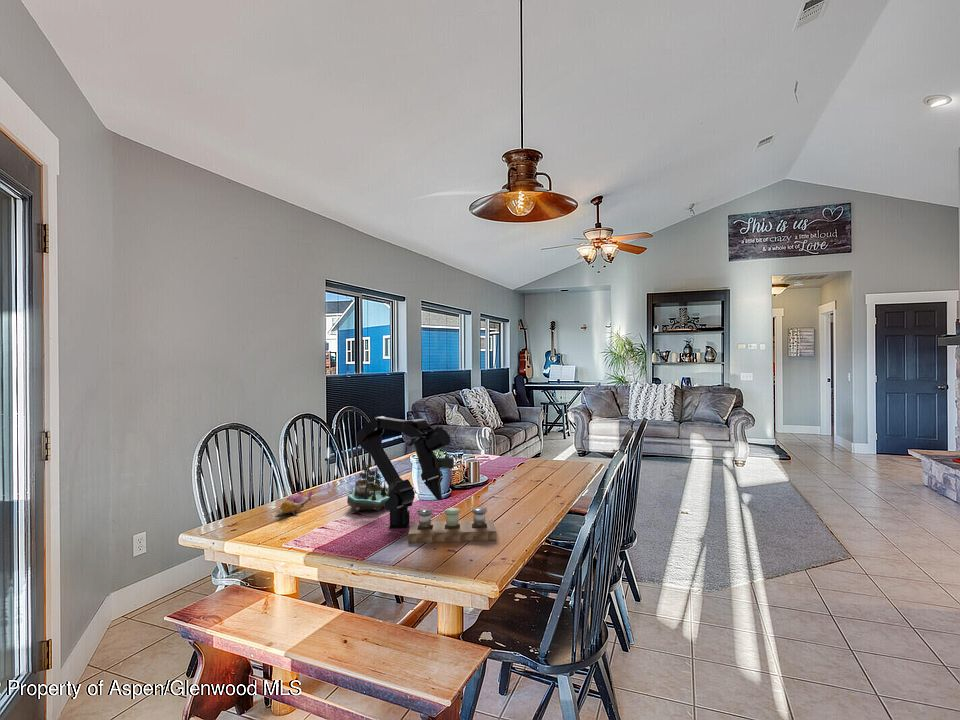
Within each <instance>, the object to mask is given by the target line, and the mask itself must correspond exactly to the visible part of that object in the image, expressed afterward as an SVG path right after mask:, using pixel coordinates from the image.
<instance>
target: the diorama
mask: <svg viewBox="0 0 960 720" xmlns="http://www.w3.org/2000/svg"><path fill="white" fill-rule="evenodd" d="M370 465H371V463H369V464H364V467H361V471H362V472H360V473H358V476H359V478H358V480H356V481H355V485H354V486H355V488H354V489H353V488H351V491H349V493H348V495H347V499H346V500H347V505H348V506H349V507H351V508H352V509H354V510H356V511H358V512H359V511H360V512H362V511H371V510H372V511H378V512H379V511H380V510H381V509H383V508H385V503H386V501H387V500H388V499H389V498H390V497H389V495H388V486H387V487H386V481H385V480H384V481H382V480H381V479H382V474H381V473H379V472H378V471H379V468H375V470H371V469H370ZM383 482H384V483H383ZM382 483H383V485H382Z"/></svg>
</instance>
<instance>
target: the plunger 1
mask: <svg viewBox="0 0 960 720" xmlns="http://www.w3.org/2000/svg"><path fill="white" fill-rule="evenodd" d="M433 512H434V511H433V509H432V508H419V509H418V510H417V511H416V513H417V515H418V522H419V526H421V527H428V526H431V522H432V514H433Z"/></svg>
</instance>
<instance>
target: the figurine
mask: <svg viewBox="0 0 960 720" xmlns="http://www.w3.org/2000/svg"><path fill="white" fill-rule="evenodd" d="M313 494H314V492H313V491H311V490H310V491H309V492H308V494H307V496H304V493H303V492H302V491H301V490H299V491H298V493H296V494H290V495H288V498H286V497H283V499H282V500H281V501H280V502H282V503H281V505H280V507H279V508H280V510H281V513H278V514H276V515H275V516H274V517H279V516H280V517H281V516H283V515H286V514H292V515H294V516H296V517H298V515H297V514H295V513H296V512H297V511H298V510H301V509H303V508H305V507H304V505H303V503H305V502H306V501H307V502H308V501H310V499H311V497H312V496H313ZM285 499H286V500H285ZM310 502H311V501H310Z"/></svg>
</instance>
